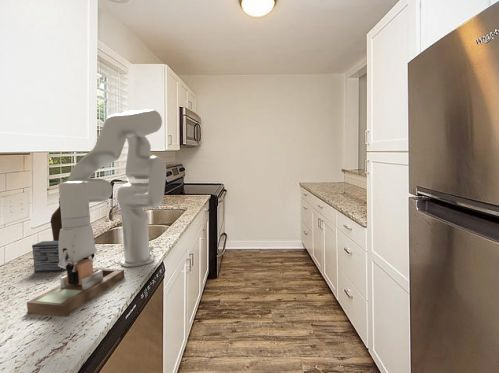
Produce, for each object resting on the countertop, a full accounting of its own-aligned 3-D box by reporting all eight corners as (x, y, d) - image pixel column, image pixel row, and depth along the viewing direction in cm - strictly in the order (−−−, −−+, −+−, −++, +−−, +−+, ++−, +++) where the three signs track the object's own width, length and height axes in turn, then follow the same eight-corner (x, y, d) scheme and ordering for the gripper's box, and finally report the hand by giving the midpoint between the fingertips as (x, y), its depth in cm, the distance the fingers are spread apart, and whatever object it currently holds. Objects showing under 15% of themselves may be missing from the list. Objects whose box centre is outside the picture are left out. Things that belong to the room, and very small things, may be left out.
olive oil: (77, 255, 133) (73, 198, 131) (49, 258, 130) (44, 199, 128) (83, 248, 143) (79, 195, 141) (58, 251, 141) (53, 196, 138)
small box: (72, 265, 121) (70, 239, 120) (62, 271, 114) (60, 244, 113) (44, 266, 120) (42, 240, 119) (33, 272, 114) (31, 245, 113)
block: (79, 277, 98) (78, 258, 97) (93, 278, 97) (92, 259, 96) (67, 283, 93) (66, 264, 92) (81, 284, 92) (80, 265, 91)
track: (94, 276, 109) (93, 259, 108) (124, 278, 107) (123, 261, 106) (27, 312, 84) (25, 291, 83) (65, 316, 81) (63, 294, 81)
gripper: (85, 216, 102) (89, 269, 104) (41, 228, 85) (47, 291, 87) (105, 216, 100) (109, 270, 102) (64, 228, 84) (69, 293, 86)
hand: (80, 279), depth 95 cm, fingers closed on block, 5 cm apart
